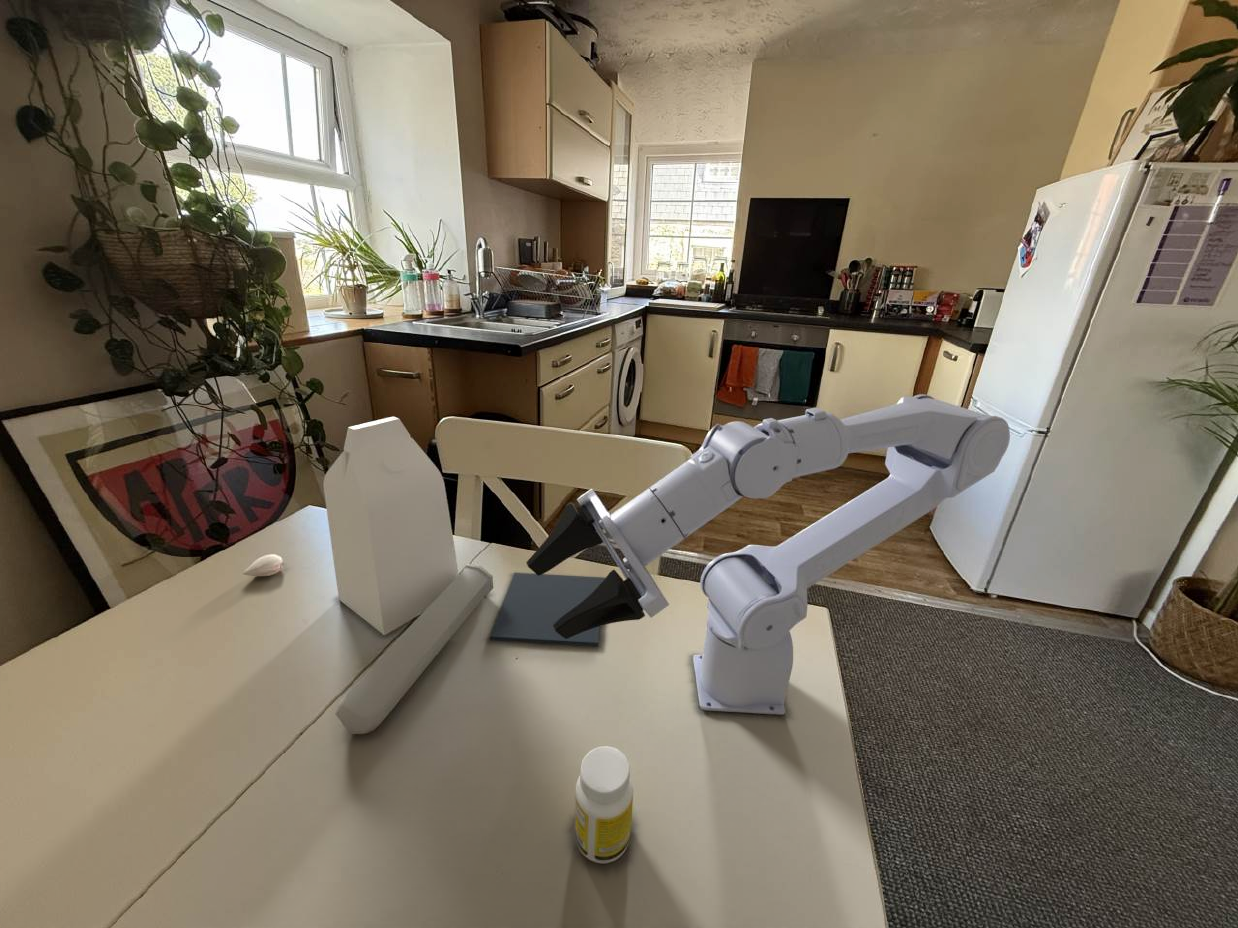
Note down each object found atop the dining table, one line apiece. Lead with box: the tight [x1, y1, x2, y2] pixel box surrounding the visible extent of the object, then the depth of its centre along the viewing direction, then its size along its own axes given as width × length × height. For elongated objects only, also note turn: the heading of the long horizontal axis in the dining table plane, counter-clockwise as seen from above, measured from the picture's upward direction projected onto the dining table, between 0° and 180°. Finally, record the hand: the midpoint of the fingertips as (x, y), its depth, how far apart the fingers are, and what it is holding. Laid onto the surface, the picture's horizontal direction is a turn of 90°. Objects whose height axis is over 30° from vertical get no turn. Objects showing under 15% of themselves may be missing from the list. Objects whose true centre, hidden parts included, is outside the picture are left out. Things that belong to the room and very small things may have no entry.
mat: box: [489, 572, 606, 647], centre depth 70 cm, size 14×14×1 cm
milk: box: [323, 416, 460, 636], centre depth 66 cm, size 12×12×26 cm
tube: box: [335, 563, 494, 735], centre depth 60 cm, size 5×5×25 cm
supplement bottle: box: [574, 745, 634, 864], centre depth 41 cm, size 5×5×8 cm
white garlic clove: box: [243, 553, 284, 577], centre depth 74 cm, size 4×5×2 cm
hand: (545, 598), depth 45 cm, fingers open, 7 cm apart
